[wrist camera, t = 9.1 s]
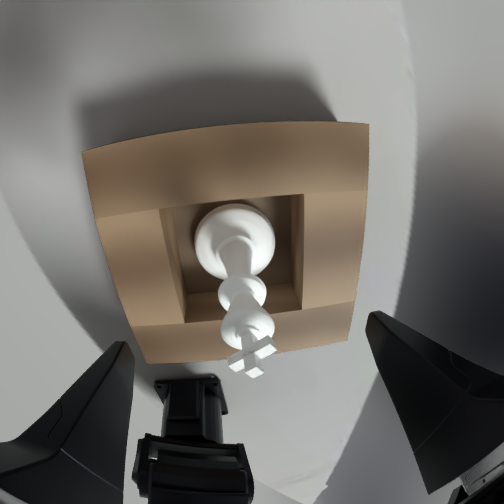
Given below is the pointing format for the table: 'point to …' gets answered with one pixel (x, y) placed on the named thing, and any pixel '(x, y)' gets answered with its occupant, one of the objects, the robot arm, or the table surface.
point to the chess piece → (240, 279)
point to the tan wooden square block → (230, 192)
